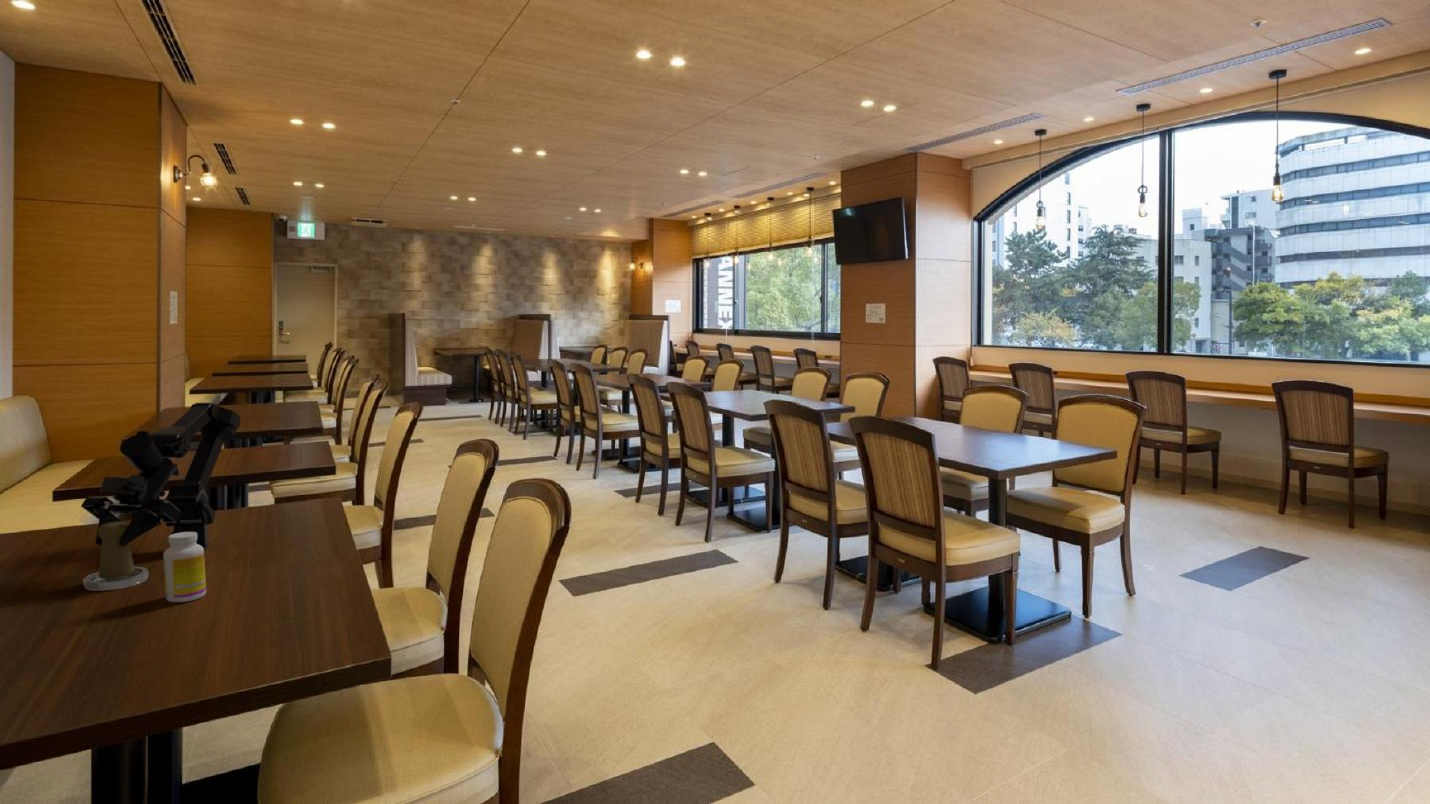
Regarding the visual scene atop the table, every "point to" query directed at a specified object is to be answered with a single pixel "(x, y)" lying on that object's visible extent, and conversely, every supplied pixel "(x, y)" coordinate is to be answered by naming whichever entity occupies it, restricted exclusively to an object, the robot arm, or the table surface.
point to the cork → (114, 551)
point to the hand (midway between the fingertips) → (109, 545)
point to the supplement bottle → (184, 568)
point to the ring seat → (115, 580)
